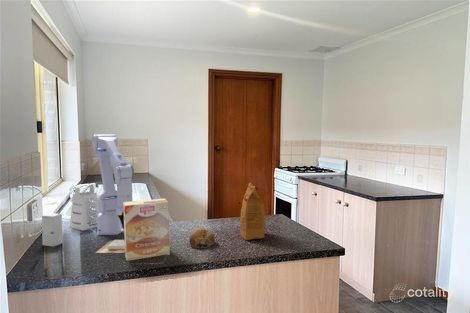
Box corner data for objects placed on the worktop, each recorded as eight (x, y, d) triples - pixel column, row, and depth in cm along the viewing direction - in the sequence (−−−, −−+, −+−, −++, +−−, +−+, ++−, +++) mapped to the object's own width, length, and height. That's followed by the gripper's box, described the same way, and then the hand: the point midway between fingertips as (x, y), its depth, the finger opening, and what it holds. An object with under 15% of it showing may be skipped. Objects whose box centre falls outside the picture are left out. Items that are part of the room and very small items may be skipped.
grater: (102, 224, 158) (101, 184, 156) (82, 230, 149) (80, 187, 147) (89, 222, 163) (88, 182, 162) (69, 227, 154) (67, 185, 153)
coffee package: (261, 231, 143) (260, 181, 141) (267, 240, 131) (266, 186, 129) (239, 232, 142) (238, 182, 140) (242, 241, 130) (241, 187, 128)
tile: (114, 243, 128) (107, 250, 121) (114, 239, 128) (107, 245, 121) (132, 243, 128) (126, 249, 121) (132, 239, 128) (126, 245, 121)
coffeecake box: (126, 262, 111) (124, 205, 109) (124, 255, 117) (122, 201, 116) (170, 255, 116) (168, 201, 115) (166, 248, 123) (164, 197, 122)
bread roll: (217, 251, 129) (219, 231, 132) (207, 249, 120) (210, 227, 123) (194, 249, 132) (197, 229, 135) (183, 246, 123) (187, 225, 126)
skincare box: (42, 245, 129) (40, 215, 128) (51, 241, 133) (49, 212, 132) (54, 246, 127) (52, 216, 126) (63, 243, 131) (61, 213, 130)
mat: (95, 253, 119) (94, 252, 119) (110, 241, 133) (110, 240, 133) (133, 253, 118) (133, 252, 118) (144, 241, 132) (144, 240, 132)
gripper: (128, 198, 123) (129, 234, 124) (140, 191, 137) (141, 223, 138) (109, 198, 123) (111, 234, 124) (123, 191, 137) (125, 223, 138)
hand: (126, 228), depth 131 cm, fingers closed
